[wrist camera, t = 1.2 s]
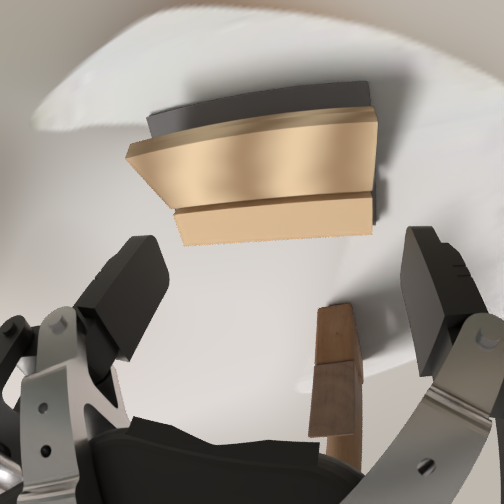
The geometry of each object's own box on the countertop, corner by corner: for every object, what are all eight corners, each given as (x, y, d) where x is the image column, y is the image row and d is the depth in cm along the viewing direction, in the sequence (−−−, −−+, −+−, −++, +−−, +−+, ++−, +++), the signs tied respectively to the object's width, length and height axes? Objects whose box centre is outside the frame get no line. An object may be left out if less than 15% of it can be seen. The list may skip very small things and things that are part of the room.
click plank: (373, 106, 16) (377, 121, 15) (369, 175, 22) (372, 190, 21) (130, 144, 20) (125, 158, 19) (173, 195, 26) (170, 209, 25)
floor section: (367, 81, 18) (371, 83, 17) (375, 222, 25) (378, 234, 23) (148, 116, 23) (137, 121, 21) (186, 235, 29) (179, 246, 28)
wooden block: (351, 301, 30) (352, 481, 16) (362, 360, 36) (361, 501, 21) (316, 306, 31) (299, 482, 17) (334, 364, 37) (324, 502, 22)
